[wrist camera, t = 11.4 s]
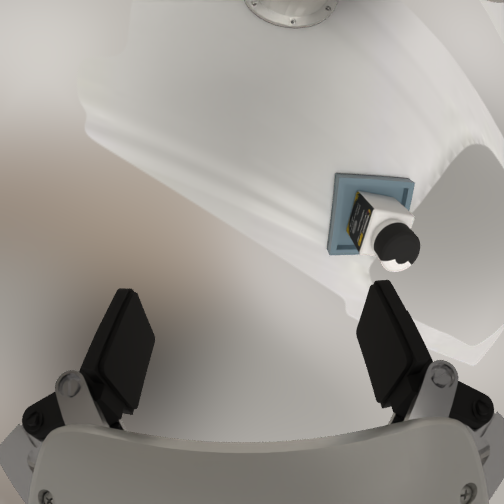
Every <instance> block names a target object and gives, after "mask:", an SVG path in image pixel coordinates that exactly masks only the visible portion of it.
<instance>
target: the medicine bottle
mask: <svg viewBox="0 0 504 504" xmlns="http://www.w3.org/2000/svg"><path fill="white" fill-rule="evenodd" d="M414 219H415V217H414V216H413V215H412V214H411V213H410V212H409V211H408V210H407V209H406V208H405V207H404V206H403V205H402V204H401V203H400V202H399V201H397V200H396V199H395V198H393V197H389V196H384V195H378V194H373V193H368V192H362V191H357V192H356V196H355V200H354V204H353V207H352V211H351V215H350V218H349V222H348V225H347V229H346V231H347V233H348V235H349V236H350V238H351V240H352V241H353V243H354V245H355V247H356V248H357V250H358V252H359V254H360V255H367V256H377V258H378V259H379V261H380V262H381V264H382V265H383V267H384V268H385V269H386V270H388V271H391V272H398V271H402V270H405V269H406V268H408V267H409V266H411V265H412V264H413V263H414V261H415V260H416V258H417V257H418V254H419V251H420V241H419V239H418V237H417V236H416V235H415V234H414V232H413V231H412V230H411V227H412V224H413V222H414Z"/></svg>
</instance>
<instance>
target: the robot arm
mask: <svg viewBox="0 0 504 504" xmlns="http://www.w3.org/2000/svg"><path fill="white" fill-rule="evenodd" d="M244 1H245V2H246V4H247V6H248V7H249V8H250V9H251V11H252V12H253V13H255V14H256V15H257V16H258V17H260V18H262V19H263V20H265V21H267V22H269V23H272V24H275V25H278V26H282V27H289V28H303V27H308V26H313V25H315V24H318V23H320V22H322V21H323V20H325V19H326V18H327V17H328V16H330V14H331V13H332V12H333V11H334V9H335V7H336V5H337V0H244ZM488 1H491V2H499V3H504V0H488ZM253 4H256V6H252V5H253ZM325 9H327V10H328V11H326V10H325ZM291 21H292V22H293V23H294V24H291V23H290V22H291ZM356 334H357V339H358V342H359V344H360V348H361V351H362V354H363V357H364V360H365V363H366V367H367V370H368V373H369V377H370V380H371V383H372V387H373V390H374V394H375V397H376V400H377V402H378V403H381V406H382V408H387V407H390V406H392V409H393V412H394V413H393V415H392V417H391V420H390V421H389V423H388V425H386V426H382V427H377V428H373V429H368V430H362V431H357V432H352V433H347V434H341V435H335V436H328V437H321V438H313V439H304V440H292V441H278V442H252V443H251V442H250V443H237V442H209V441H195V440H184V439H175V438H174V439H173V438H166V437H159V436H153V435H146V434H140V433H134V432H129V431H127V430H126V428H125V426H124V424H123V422H122V420H121V417H122V413H125V414H130V415H133V411H134V409H137V407H138V404H139V399H140V396H141V391H142V388H143V383H144V379H145V376H146V372H147V368H148V365H149V361H150V357H151V353H152V350H153V346H154V343H155V336H154V333H153V331H152V329H151V326H150V324H149V322H148V319H147V317H146V314H145V312H144V309H143V307H142V304H141V302H140V299H139V297H138V294H137V293H136V292H134V291H133V290H132V289H118V290H117V292H116V294H115V296H114V298H113V300H112V302H111V304H110V306H109V308H108V310H107V312H106V314H105V316H104V318H103V320H102V322H101V323H100V326H99V328H98V330H97V332H96V334H95V336H94V339H93V341H92V343H91V345H90V347H89V350H88V352H87V354H86V357H85V359H84V361H83V364H82V366H81V369H80V371H75V370H70V371H66V372H64V373H63V374H61V376H60V377H59V378H58V379H57V381H56V384H55V392H54V393H52V394H51V395H49V396H47V397H45V398H43V399H42V400H40V401H38V402H36V403H35V404H33V405H32V406H30V407H28V408H27V409H26V410H25V412H24V414H23V418H22V423H23V424H22V425H20V424H18V426H16V428H15V429H14V430H13V431H12V432H11V433H10V434H9V435H8V437H7V438H6V439H5V440H4V441H3V442H2V444H0V464H1V466H2V468H3V470H4V471H5V473H6V475H7V476H8V478H9V479H10V481H11V483H12V484H13V486H14V488H15V489H16V491H17V492H18V493H19V495H20V496H21V498H22V499H23V501H24V502H25V503H26V504H489V499H490V498H491V497H492V495H493V494H494V492H495V491H496V489H497V488H498V486H499V485H500V483H501V482H502V480H503V478H504V418H503V417H502V416H501V415H500V414H499V413H498V412H496V413H494V407H493V403H492V401H491V399H490V398H489V397H488V396H487V395H485V394H483V393H481V392H479V391H477V390H475V389H473V388H471V387H470V386H468V385H466V384H464V383H462V382H460V381H458V374H457V371H456V369H455V367H454V366H453V365H452V364H450V363H449V362H447V361H444V360H437V361H434V362H433V361H432V359H431V356H430V354H429V352H428V350H427V348H426V346H425V344H424V341H423V339H422V337H421V335H420V333H419V331H418V329H417V327H416V325H415V323H414V322H413V320H412V318H411V316H410V314H409V312H408V311H407V310H406V309H405V307H404V305H403V303H402V301H401V300H400V298H399V296H398V295H397V292H396V291H395V289H394V287H393V285H392V284H391V282H390V281H389V280H380V281H375V282H374V284H373V285H371V286H370V288H369V292H368V295H367V299H366V302H365V305H364V308H363V311H362V314H361V318H360V321H359V324H358V327H357V331H356Z"/></svg>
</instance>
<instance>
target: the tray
mask: <svg viewBox="0 0 504 504" xmlns="http://www.w3.org/2000/svg"><path fill="white" fill-rule="evenodd" d="M414 185H415V183H414V182H413V181H411V180H410V179H408V178H398V177H387V176H374V175H359V174H340V173H335V183H334V194H333V203H332V212H331V221H330V229H329V237H328V244H327V250H328V252H329V255H356V254H359V252H358V250H357V248H356V247H355V245H354V243H353V241H352V240H351V238H350V236H349V235H348V233H347V231H346V229H347V225H348V222H349V218H350V215H351V211H352V207H353V204H354V200H355V196H356V192H357V191H362V192H368V193H373V194H378V195H384V196H389V197H393V198H395V199H396V200H397V201H399V202H400V203H401V204H402V205H403V206H404V207H405V208H406V209H407V210H408V211H409V209H410V204H411V200H412V195H413V190H414Z"/></svg>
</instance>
